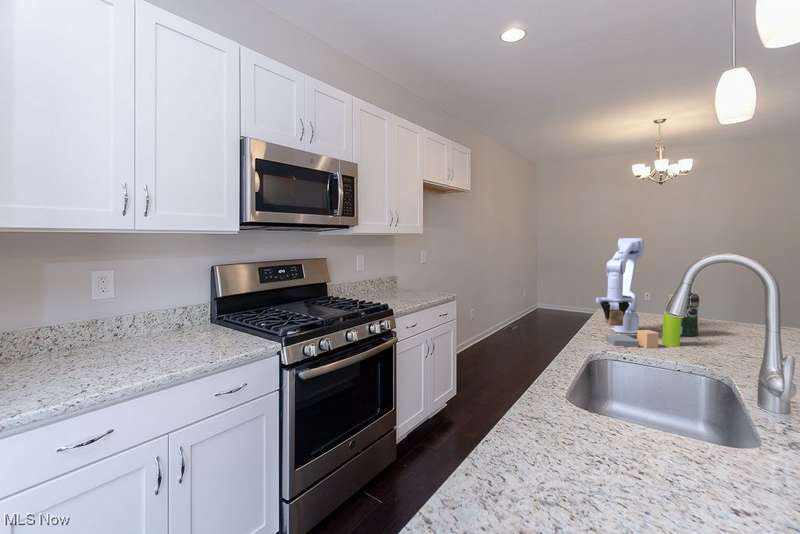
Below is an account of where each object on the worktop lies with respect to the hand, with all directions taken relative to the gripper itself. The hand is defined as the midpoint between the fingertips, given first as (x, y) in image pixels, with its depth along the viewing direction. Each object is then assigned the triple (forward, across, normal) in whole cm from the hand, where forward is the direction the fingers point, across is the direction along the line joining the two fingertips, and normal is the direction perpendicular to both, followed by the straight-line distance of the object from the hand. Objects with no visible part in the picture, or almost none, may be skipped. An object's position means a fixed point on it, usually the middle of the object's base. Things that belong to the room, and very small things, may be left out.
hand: (613, 319), depth 165 cm
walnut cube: (+2, 0, 0) cm, 2 cm away
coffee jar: (+8, +33, +8) cm, 35 cm away
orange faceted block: (+8, +8, -12) cm, 17 cm away
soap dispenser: (+8, +19, -8) cm, 22 cm away
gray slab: (+9, -1, -10) cm, 13 cm away
